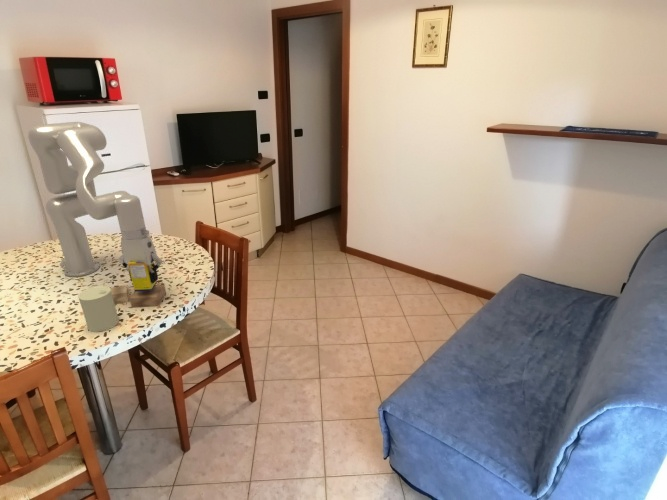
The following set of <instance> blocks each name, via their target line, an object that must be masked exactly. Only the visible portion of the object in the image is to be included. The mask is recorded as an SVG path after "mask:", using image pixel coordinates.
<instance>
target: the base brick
mask: <svg viewBox="0 0 667 500" xmlns="http://www.w3.org/2000/svg"><path fill="white" fill-rule="evenodd" d="M166 295H167V290H166V286H165V284H156V285H155V287H154V288H153V290H152V291H136V292H135V291H134V292H133V293H132V294H131V296H129V302H130V305H131V309H133V308H151V307H152V308H153V307H159V306H160V304H161V303H162V301H163V300H164V298H165V296H166Z"/></svg>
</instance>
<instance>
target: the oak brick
mask: <svg viewBox="0 0 667 500" xmlns="http://www.w3.org/2000/svg"><path fill="white" fill-rule="evenodd" d="M110 288H111V293H112V297H113V301H114V304H115V305H118V304H124V303H125V304H126V303H128V302H130V297H131V296H130V294H131V293H130V288H129V286H128V284H124V285H119V286H113V287H110Z"/></svg>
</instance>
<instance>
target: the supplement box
mask: <svg viewBox="0 0 667 500" xmlns="http://www.w3.org/2000/svg"><path fill="white" fill-rule="evenodd" d="M128 266H129V270H130V275H131V279H132V281H131V282H132V286H133V290H134V292H136V291H152V290H153V288H154V287H155V285H158V280H157V281H155V282H154V283H151V280H150V275H149V273H150V271H149V269H148V266H147V265H146V263H142V262H129V263H128ZM151 267H152V265H151ZM152 268H153V267H152ZM130 275H129V276H130ZM131 279H130V280H131Z"/></svg>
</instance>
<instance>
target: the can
mask: <svg viewBox="0 0 667 500" xmlns="http://www.w3.org/2000/svg"><path fill="white" fill-rule="evenodd" d="M111 288H112V287H110V286H107V285H96V286H91V287H88V288H86V289H84V290H83V291H81V292H79V293H78V296H77V298H78V301H79V302H80V303H79V304H80V307H81V310H82V312H83V313H82V314H83V317H84V319H85V323H86V329H87V330H88V331H90V332H94V333H97V332H104V331H108V330H110V329H111V328H114V327H115V326H117V324H119V322H120V317H119V315H118V313H117V309H116V304H114V301H113V297H112V293H111Z"/></svg>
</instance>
